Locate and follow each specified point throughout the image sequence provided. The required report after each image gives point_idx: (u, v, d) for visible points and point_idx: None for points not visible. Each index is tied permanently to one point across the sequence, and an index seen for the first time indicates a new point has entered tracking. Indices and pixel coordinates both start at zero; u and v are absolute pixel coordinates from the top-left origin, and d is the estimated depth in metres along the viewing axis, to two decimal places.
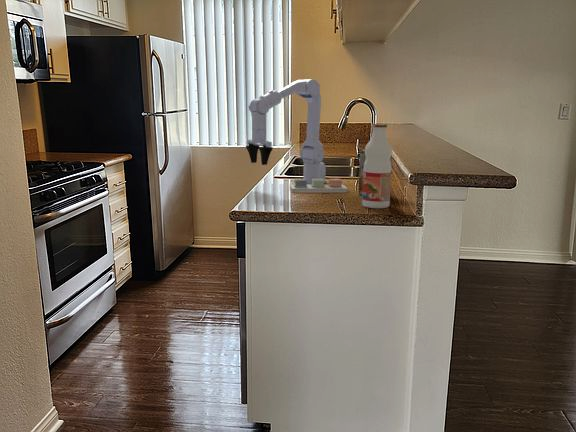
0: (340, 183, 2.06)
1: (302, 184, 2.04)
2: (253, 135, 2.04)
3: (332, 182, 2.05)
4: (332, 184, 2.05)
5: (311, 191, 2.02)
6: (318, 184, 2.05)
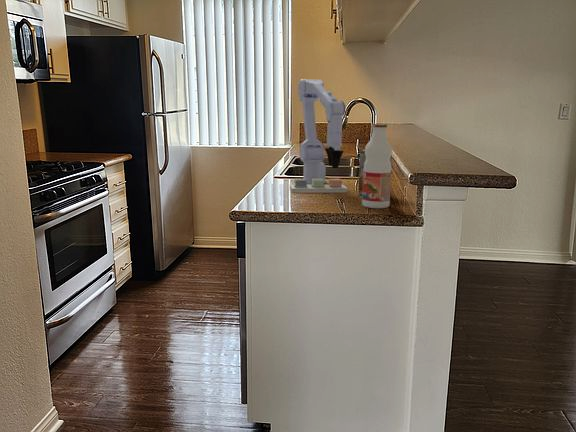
0: (340, 183, 2.06)
1: (302, 184, 2.04)
2: (327, 138, 2.03)
3: (332, 182, 2.05)
4: (332, 184, 2.05)
5: (311, 191, 2.02)
6: (318, 184, 2.05)
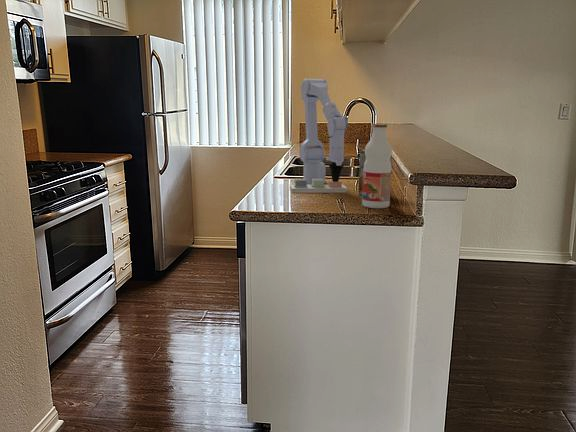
0: (340, 185, 2.06)
1: (302, 184, 2.04)
2: (329, 153, 2.05)
3: (332, 184, 2.05)
4: (332, 186, 2.06)
5: (311, 191, 2.02)
6: (318, 184, 2.05)
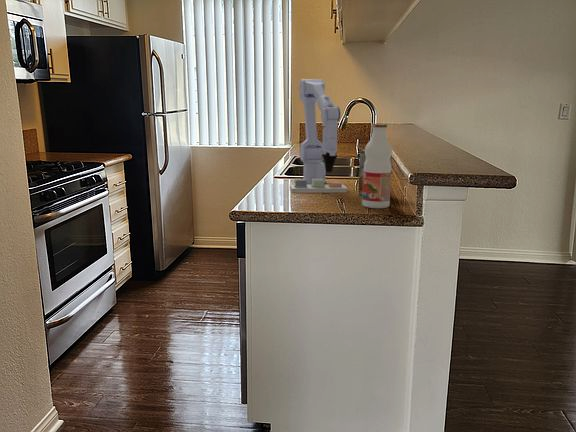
0: (340, 186, 2.06)
1: (302, 184, 2.04)
2: (322, 143, 2.04)
3: (332, 185, 2.06)
4: None
5: (311, 191, 2.02)
6: (318, 184, 2.05)
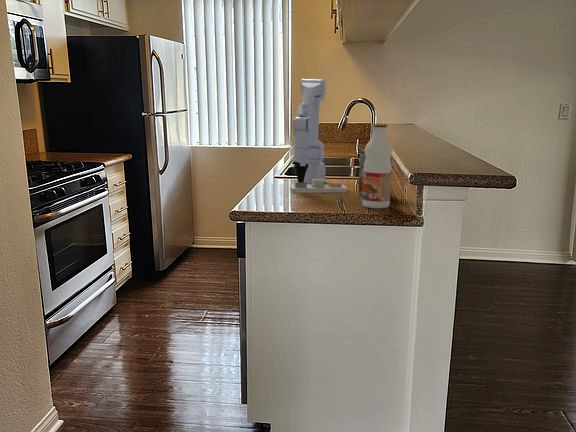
0: (340, 186, 2.06)
1: (302, 187, 2.05)
2: (294, 153, 2.03)
3: (332, 185, 2.06)
4: None
5: (311, 191, 2.02)
6: (318, 184, 2.05)
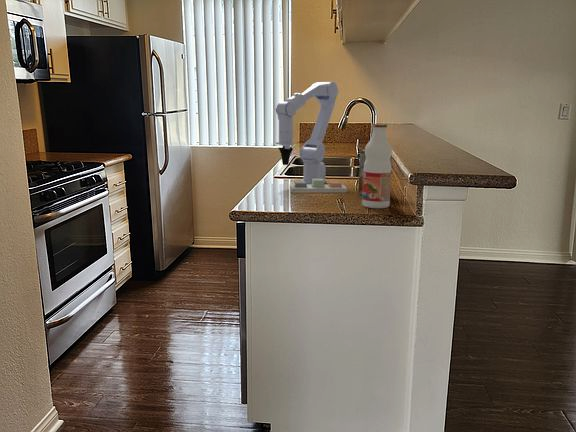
0: (340, 186, 2.06)
1: (302, 187, 2.05)
2: None
3: (332, 185, 2.06)
4: None
5: (311, 191, 2.02)
6: (318, 184, 2.05)
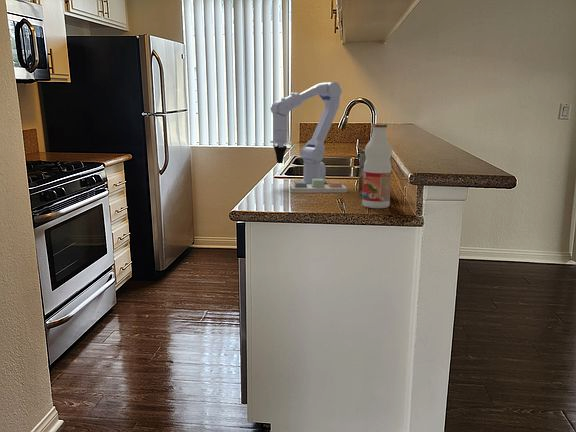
0: (340, 186, 2.06)
1: (302, 187, 2.05)
2: (273, 135, 2.14)
3: (332, 185, 2.06)
4: None
5: (311, 191, 2.02)
6: (318, 184, 2.05)
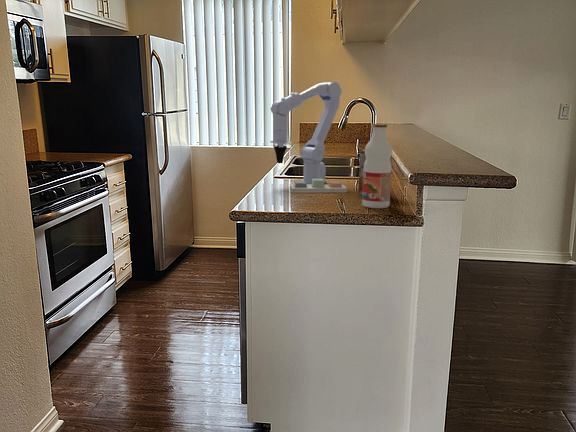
0: (340, 186, 2.06)
1: (302, 187, 2.05)
2: (273, 135, 2.14)
3: (332, 185, 2.06)
4: None
5: (311, 191, 2.02)
6: (318, 184, 2.05)
